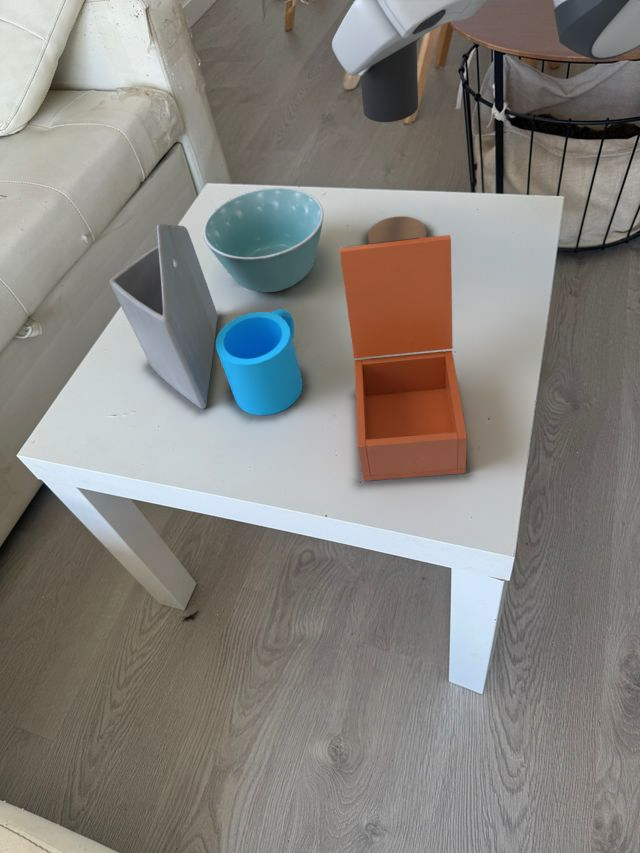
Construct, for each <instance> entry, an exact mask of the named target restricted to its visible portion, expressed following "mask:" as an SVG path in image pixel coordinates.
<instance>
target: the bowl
mask: <svg viewBox="0 0 640 853" xmlns="http://www.w3.org/2000/svg"><path fill="white" fill-rule="evenodd" d="M324 216H325V215H324V208H323V206H322V204H321V202H320V201H319V200H318V199H317V198H316V197H315V196H314V195H312V194H310V193H308V192H306V191H303V190H301V189H297V188H291V187H267V188H260V189H255V190H250V191H248V192H244V193H241V194H239V195H237V196H234V197H231V198H230V199H228V200H227V201H225V202H223V203H222V204H220V205H219V206H217V207H216V208H215V209H214V210H213V211H212V212H210V215H209V216H208V217H207V219H206V221H205V223H204V225H203V230H202V236H203V239H204V242H205V243H206V245H207V246H208V248H209V249H210V251H211V252H212V254H213V255H214V257H216V259H217V260H218V261H219V263H220V264H221V266H223V267H224V269H225V270H226V271H227V273H228V274H229V275H230V276H231V278H233V279H234V281H235V282H236V283H237V284H238V285H239V286H241V287H243V288H245V289H248V290H251V291H255V292H260V293H275V292H281V291H284V290H287V289H289V288H291V287H293V286H295V285H296V284H298V283H299V282H300V281H301V280H303V279H304V278H305V277H306V276H307V275H308V274H309V273H310V272H311V270H312V269H313V266H314V263H315V259H316V256H317V251H318V247H319V243H320V237H321V234H322V227H323V222H324Z"/></svg>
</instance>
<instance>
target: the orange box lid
mask: <svg viewBox="0 0 640 853" xmlns="http://www.w3.org/2000/svg"><path fill="white" fill-rule="evenodd" d="M339 256H340V263H341V272H342V280H343V286H344V293H345V302H346V308H347V317H348V323H349V331H350V338H351V346H352V354H353V359H354V360H356V359H366V358H376V357H386V356H396V355H406V354H417V353H427V352H437V351H447V350H452V349H454V348H453V346H454V345H453V293H452V292H453V290H452V289H453V283H452V282H453V281H452V280H453V279H452V278H453V277H452V237H451V235H450V234H446V235H445V234H444V235H438V236H437V235H436V236H429V237H427V238H411V239H403V240H394V241H386V242H378V243H367V244H362V245H353V246H345V247H340V248H339Z"/></svg>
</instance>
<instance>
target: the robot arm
mask: <svg viewBox="0 0 640 853" xmlns="http://www.w3.org/2000/svg"><path fill="white" fill-rule="evenodd" d="M487 1H488V0H355V1H354V0H353V3H352V4H351V5H350V7H349V9H348V11H347V12H346V15H345V16H344V17H343V19H342V21H341V23H340V25H339V26H338V28H337V30H336V32H335V33H334V35H333V38H332V42H331V47H332V51H333V53H334V55H335V57H336V59H337V60H338V62H339V64H340V66H342V68H343V69H344V70H345V72H346V73H347V74H348V75H349V76H351V77H354V76H359V77H360V76H362V75H364V74H365V73H367V72H369V71H370V70H371V69H372V67H373V66H374V65H375V64H376V63H377V62H379V61H381V60H382V59H384V58H386V57H387V56H389V55H391V54H393V53H394V52H396V51H398V50H399V49H401V48H403V47H405V46H406V45H408V44H410V43H411V42H413V41H415V40H417V44H418V43H419V42H420V41H421V40H422V39H423V37H425V36H426V35H427V34H428V33H430V32H432V31H433V30H435V29H437V28H438V27H439V28H440V27H441V26H443V25H444V24H447V23H450V22H452V21H454V22H460V21H466V20H468V19H470V18H471V17H473V16H474V15H475V14H476V13H477V12H478V11H479V10H480V9H481V8H482V7H483V6H484V5H485V3H486V2H487ZM552 2H553V6H554V9H553V13H554V18H555V24H556V25H555V26H556V30H557V35H558V40H559V43H560V44H561V45H562V46H563V47H565V48H567V49H568V50H570V51H572V52H574V53H576V54H578V55H580V56H582V57H585V58H588V59H591V60H596V61H607V60H611V59H614V58H615V59H616V58H618V57H620V56H623V55H625V54H627V53H629V52H632V51H633V50H635V49H637V48H639V47H640V0H552Z"/></svg>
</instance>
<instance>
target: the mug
mask: <svg viewBox="0 0 640 853" xmlns="http://www.w3.org/2000/svg"><path fill="white" fill-rule="evenodd" d="M294 334H295V322H294V318H293V316H292V313H291V312H289V311H288V310H287V309H285V308H280V309H274V310H272V311H271V312H267V311H255V312H248V313H245V314H242V315H239V316H237V317H235V318H234V319H232V320H230V321H228V322H227V323H225V325H224V326H223V327H222V328H221V329H220V331H219V332H218V335H217V336H216V337H215V349H216V352H217V354H218V357H219V360H220V364H221V365H222V366H221V367H222V369H223V371H224V374H225V376H226V379H227V381H228V385H229V387H230V390H231V392H232V396H233V398H234V401H235V402H236V403H235V404H236V406H238V407H239V408H240V409H241V410H242V411H243V412H246V413H248V414H251V415H254V416H269V415H275V414H278V413H280V412H283V411H286V410H287V409H288V408H290V407H291V406H292V405H294V404H295V402H297V400H298V399H299V397H300V396H301V394H302V391H303V378H302V373H301V370H300V365H299V361H298V357H297V353H296V349H295V345H294V337H295V335H294Z"/></svg>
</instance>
